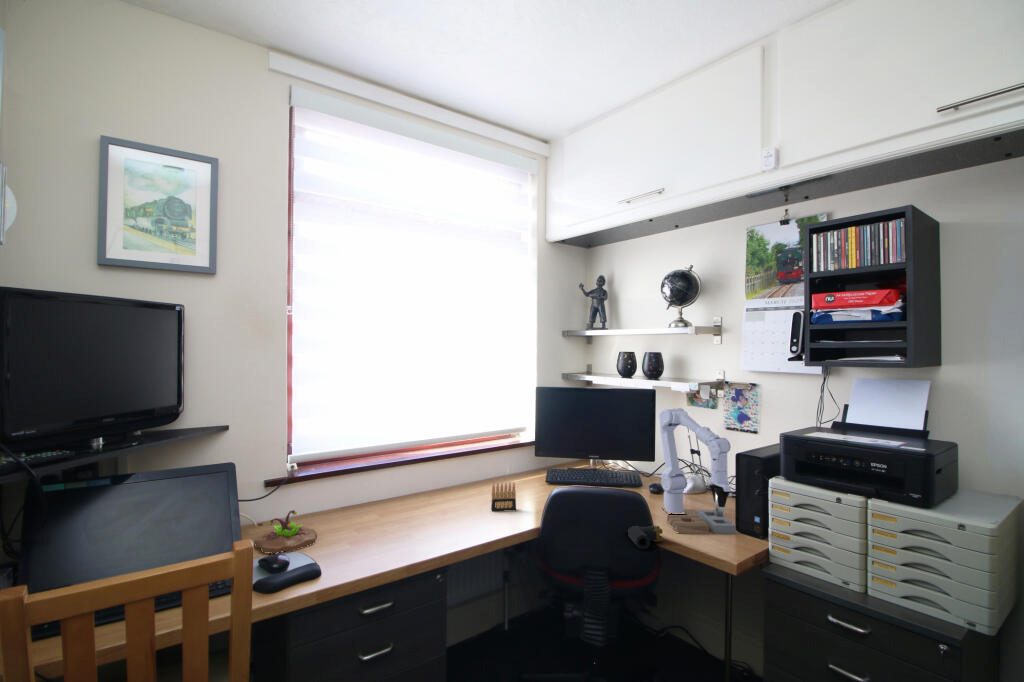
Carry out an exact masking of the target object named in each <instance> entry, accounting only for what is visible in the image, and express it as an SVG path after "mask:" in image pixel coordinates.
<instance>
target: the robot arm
mask: <svg viewBox="0 0 1024 682" xmlns="http://www.w3.org/2000/svg"><path fill="white" fill-rule="evenodd" d="M658 417H659V423H660V424H659V429H660V430H659V431H660V438H661V445H662V451H663V457H664V458H663V460H664V465H665V469H664V470H663V471H662V473H661V481H660V482H661V483H660V484H661V487H662V489H663V491H664V492H663V507H665V508H666V511H669V512H672V513H682V512H683V511H684V492H685V489H687V487H688V481H687V480H688V479H687V477H686V476H685V475H686V474H685V471H683V470H682V469H681V468H680V464H679V459H678V453H677V452H678V451H677V445H676V439H675V429H676V428H677V427H678V426H680V425H683V426H685V427H686V428H688V429H689V430H690V431H692V432H693V433H695V436H696V439H698V440H699V441H700V442H701V443H702V444H704V446H706V447H707V449H708V452H709V454H710V455H709V457H710V458H711V463H710V465H711V467H710V468H711V470H710V471H711V476H709V480H708V484H709V485H708V487H709V488H710V491H711V494H712V498H713V502H714V503H715V492H716V495H717V500H718V506H719V507H724V508H725V507H726V503H727V500H728V497H729V495H730V493H731V486H730V485H729V482H728V479H729V477H728V453H729V452H730V451H731V449H732V448H731V443H730V440H728V438H727V437H726V438H725V437H720V436H719V435H718V434H716V433H715V432H713V431H712V430H711V428H710V427H708V426H707V427H706V426H701V425H700V424H699V423H698V422H697V421H696V420H694V419H693V418H692V417H691V416H690V415H689V413H688V412H687V411H686V410H685V409H683V408H681V407H679V408H678V407H677V408H663V409H662V410H661V411H660V413H659V415H658Z"/></svg>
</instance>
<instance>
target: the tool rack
mask: <svg viewBox="0 0 1024 682" xmlns="http://www.w3.org/2000/svg"><path fill="white" fill-rule="evenodd" d="M696 515H698V516H699V517H700V518H701V519H702V520H703V521H704V522H706V523H707V524H708V525H709V531H711V532H712V533H713V534H714V533H716V534H719V535H721V534H722V535H723V534H725V535H726V534H730V535H732V534H733V535H734V534H737V533H736V527H737V526H736V525H735V523H733V522H732V521H731V520H729V519H728V518H726V516H724V517H717V516H715V510H711V509H710V510H705V509H704V510H702V509H701V510H699V509H698V510H696Z"/></svg>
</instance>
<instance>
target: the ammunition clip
mask: <svg viewBox="0 0 1024 682" xmlns="http://www.w3.org/2000/svg"><path fill="white" fill-rule="evenodd" d="M511 483H512V484H511ZM495 486H496V487H495ZM491 488H492V489H491V507H490V509H491V510H492V511H491V510H490V511H491V512H505V511H504V510H515V511H517V498H516V497H517V495H516V494H517V493H516V484H515V482H514V481H513V482H511V481H510V482H508V483H507V482H505V483H504V485H503V482H501V483H500V486H499V482H496V484H495V482H493V483H492V487H491Z"/></svg>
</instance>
